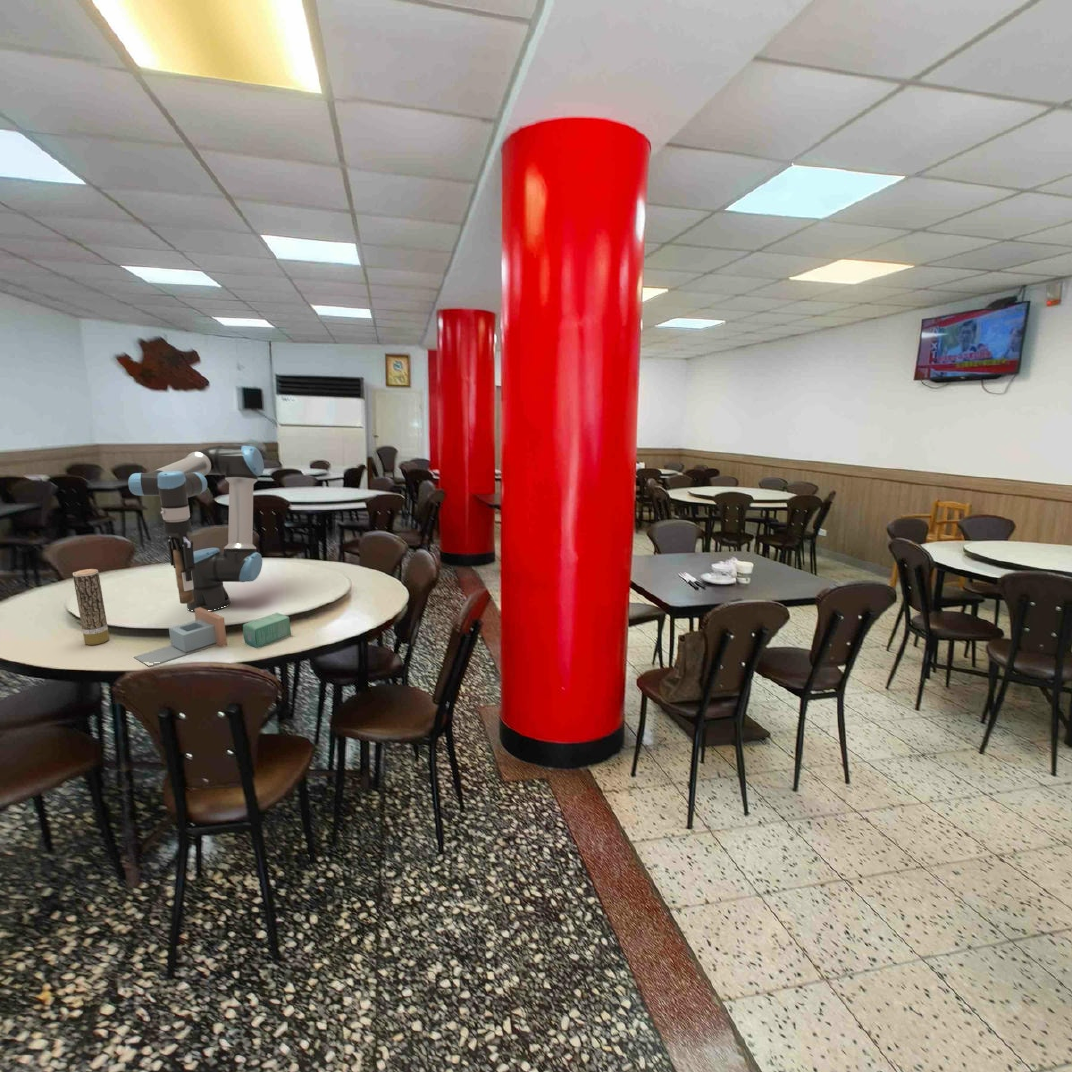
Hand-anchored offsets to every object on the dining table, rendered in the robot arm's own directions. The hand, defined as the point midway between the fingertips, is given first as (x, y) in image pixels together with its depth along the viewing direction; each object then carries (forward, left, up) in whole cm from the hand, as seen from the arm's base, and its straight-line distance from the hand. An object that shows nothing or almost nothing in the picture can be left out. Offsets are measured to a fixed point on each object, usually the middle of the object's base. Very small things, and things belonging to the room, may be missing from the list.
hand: (185, 588), depth 192 cm
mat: (+4, 0, -21) cm, 21 cm away
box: (-18, +15, -21) cm, 32 cm away
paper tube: (+18, -29, -21) cm, 40 cm away
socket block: (0, 0, -21) cm, 21 cm away
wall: (-6, 0, -21) cm, 22 cm away
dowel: (0, 0, -5) cm, 5 cm away
